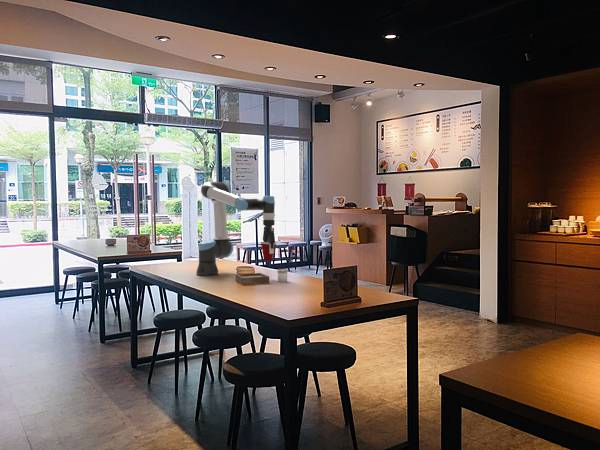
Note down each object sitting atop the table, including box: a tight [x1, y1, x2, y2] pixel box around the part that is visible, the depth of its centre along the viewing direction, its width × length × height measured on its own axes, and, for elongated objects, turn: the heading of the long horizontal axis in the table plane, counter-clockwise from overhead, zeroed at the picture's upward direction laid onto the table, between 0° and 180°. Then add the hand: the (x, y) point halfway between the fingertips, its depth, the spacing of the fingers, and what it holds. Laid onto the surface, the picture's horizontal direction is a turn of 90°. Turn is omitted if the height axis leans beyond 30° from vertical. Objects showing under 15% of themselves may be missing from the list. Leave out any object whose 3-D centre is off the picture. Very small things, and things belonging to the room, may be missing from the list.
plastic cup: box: [260, 241, 278, 262], centre depth 338 cm, size 11×11×12 cm
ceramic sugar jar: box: [277, 269, 288, 283], centre depth 326 cm, size 7×7×7 cm
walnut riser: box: [235, 272, 270, 286], centre depth 323 cm, size 17×17×4 cm
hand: (268, 252), depth 338 cm, fingers closed on plastic cup, 11 cm apart
